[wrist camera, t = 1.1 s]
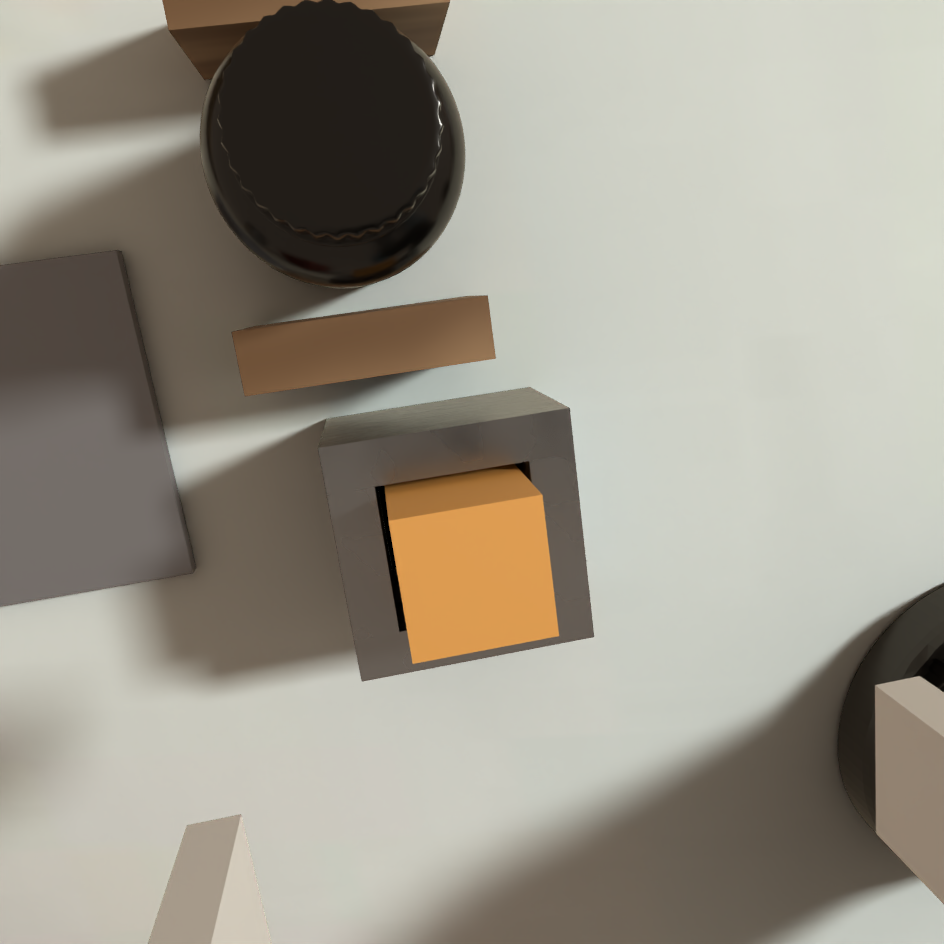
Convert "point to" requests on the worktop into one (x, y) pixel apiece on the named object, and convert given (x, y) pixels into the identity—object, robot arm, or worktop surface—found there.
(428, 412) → the plunger housing
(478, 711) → the worktop surface
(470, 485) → the plunger
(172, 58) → the worktop surface
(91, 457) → the mat
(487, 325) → the block
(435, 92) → the supplement bottle
